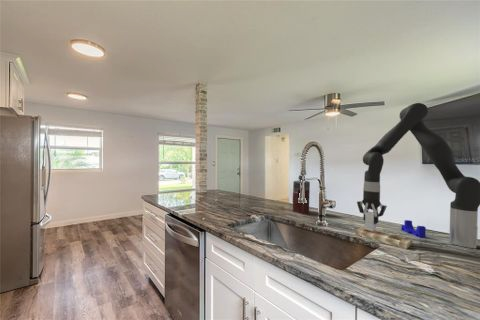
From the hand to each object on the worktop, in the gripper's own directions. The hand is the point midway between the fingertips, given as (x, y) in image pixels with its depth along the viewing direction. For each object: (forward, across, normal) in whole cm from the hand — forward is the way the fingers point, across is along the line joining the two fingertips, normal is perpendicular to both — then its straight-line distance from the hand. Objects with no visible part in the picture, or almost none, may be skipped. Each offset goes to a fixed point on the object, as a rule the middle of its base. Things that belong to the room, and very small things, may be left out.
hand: (370, 222), depth 112 cm
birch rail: (+7, -6, 0) cm, 9 cm away
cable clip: (+8, -13, -25) cm, 29 cm away
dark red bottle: (+8, +52, -12) cm, 54 cm away
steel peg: (+4, 0, 0) cm, 4 cm away
